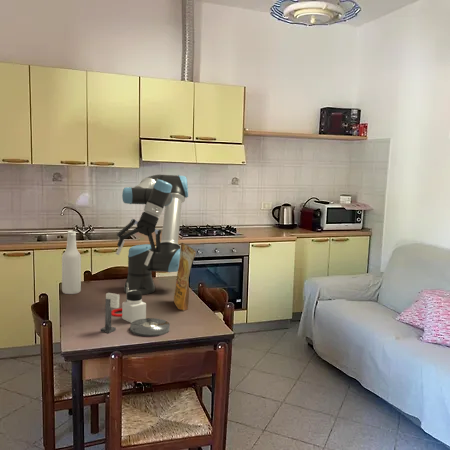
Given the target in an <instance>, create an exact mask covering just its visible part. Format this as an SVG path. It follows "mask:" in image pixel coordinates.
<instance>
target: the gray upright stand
mask: <svg viewBox="0 0 450 450" xmlns="http://www.w3.org/2000/svg"><path fill="white" fill-rule="evenodd" d="M104 307H105V309H104V310H105V312H104V313H105V315H104V317H105V318H104V319H105V320H104V325H105V326H104V327H102V328H100V332H101V333H106V334H111V333H113V332H115V331H116V330H117V329H116V327H113V326H112V315H111V311H112V308H113V309H120V294H119V293H118V294H117V293H114V292H113V293H112V292H107V293H105V306H104Z"/></svg>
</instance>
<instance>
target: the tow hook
mask: <svg viewBox="0 0 450 450" xmlns="http://www.w3.org/2000/svg"><path fill="white" fill-rule="evenodd" d="M128 291H129V285H128V283H127V287H126V292H125V294H126V298H127V292H128ZM126 301H127V299H126V300H125V302H126ZM117 312H122V307H119V308H114V309H111V317H112V316H113V317H117V318H119V317H121V318H122V313H117Z"/></svg>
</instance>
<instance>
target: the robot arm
mask: <svg viewBox="0 0 450 450" xmlns="http://www.w3.org/2000/svg"><path fill="white" fill-rule="evenodd" d="M121 194H122V195H121V199H122V202H123V203H124V204H126V205H128V204H129V205H145V206H144V208H143V212H141V216H140V217H139V220H138V221H137V220H136V219H134V218H132V219H131V220H130V221H129V223H128V224H126V225H125V226H124V227H123V228H122V229H121V230H120V231H118V233H116V236H117V237H118V238H119V240H118V242H117V246H118V248H117V250H116V252H115V254H116V255H117V256H120V253H121V251H122V248H124V244H125V243H126V241H125V239H127V238H129V237H131V236H133V235H135V234H137V233H140V234H141V235H144V236H146V237H147V238H148V241H149V244H148V243H144V244H137V245H133V246H131V247H129V248H128V253H127V254H128V255H127V257H128V258H127V264H128V265H127V278H126V281H125V284H124V286H123V287H124V289H123V292H124V293H126V287H127V283H128V285H129V291H131V290H139V291H141V292H142V295H149V294H152V293H154V292H155V290H156V287H155V283H154V280H153V275H152V272H162V273H163V272H165V273H178V268H179V260H180V249H181V246H180V243H179V236H180V235H179V234H180V224H181V215H182V214H181V213H182V204H183V203H184V202H185V201H186V199H188V198H189V186H188V178H187V177H186V176H185V175H180V174H177V175H175V174H174V175H173V174H155V175H154V174H153V175H150V176H147V177H145V178H143V179H142V180H140V182H139V183H138V184H137V185H135V186H134V187H132V186H130V187H124V188H123V189H122V193H121ZM163 210H164V213H163ZM162 213H163V222H162V223H163V224H162V230H160V229H157V228H156V227H157V224H158V222H159V219H160V218H159V217H161V215H162ZM133 226H136V227H135V228H134V229H132V230H130V229H131V228H132V227H133ZM129 230H130V231H129ZM127 231H128V232H127ZM153 233H154V234H155V241H154V237H153Z"/></svg>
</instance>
